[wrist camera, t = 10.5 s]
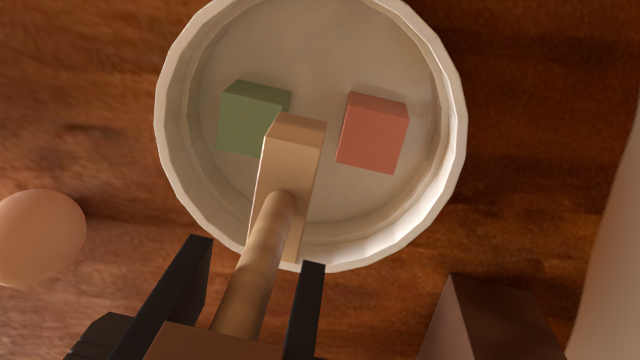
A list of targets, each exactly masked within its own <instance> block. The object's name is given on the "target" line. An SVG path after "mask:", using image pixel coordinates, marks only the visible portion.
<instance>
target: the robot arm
mask: <svg viewBox="0 0 640 360" xmlns="http://www.w3.org/2000/svg"><path fill="white" fill-rule="evenodd" d="M212 246H213V239H212V238H207V237H203V236H199V235H194V234H190V235H189V237H188V238H187V240H186V241H185V243H184V244H183V246H182V247H181V249H180V250H179V252H178V253H177V255H176V256H175V258H174V259H173V261H172V262H171V264H170V265H169V267H168V268H167V270H166V271H165V273H164V274H163V276H162V277H161V279H160V280H159V282H158V283H157V285H156V286H155V288H154V289H153V291H152V292H151V294H150V295H149V297H148V298H147V300H146V301H145V303H144V304H143V306H142V307H141V309H140V310H139V312H138V313H137V315H136V316H135V317H130V316H126V315H121V314H117V313H113V312H108V313H107V314H105V315H103V316H102V317H100V318H99V319H97V320H96V321H94V322H92V323H91V324H90V326H89V327H88V328H87V330H86V331H85V332H84V333H83V335H82V336H81V337H80V340H79V341H77V342H76V344H75V345H74V346H73V348H72V349H71V351H70V353H68V354H67V355H66V356H65V358H64V359H63V360H143V358H144V356H145V354H146V353H147V351H148V349H149V347H150V346H151V344H152V342H153V340H154V339H155V337H156V335H157V334H158V332H159V330H160V328H161V327H162V325H163V323H164V322H165V321H170V322H174V323H179V324H183V325H187V326H192V327H194V325H195V323H196V321H197V319H198V317H199V315H200V313H201V311H202V309H203V307H204V304H205V297H206V290H207V282H208V275H209V268H210V260H211V253H212ZM325 268H326V264H322V263H317V262H313V261H309V260H304V259H303V262H302V267H301V271H300V275H299V280H298V284H297V288H296V292H295V297H294V301H293V305H292V310H291V314H290V318H289V322H288V327H287V332H286V336H285V341H284V345H283V348H284V350H285V352H284V356H283V360H326V359H321V358H317V357H314V352H315V344H316V337H317V329H318V321H319V314H320V306H321V299H322V291H323V283H324V276H325Z"/></svg>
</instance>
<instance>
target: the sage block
mask: <svg viewBox="0 0 640 360" xmlns="http://www.w3.org/2000/svg"><path fill="white" fill-rule="evenodd" d="M291 95H292V92H291V91H287V90H283V89H279V88H274V87H270V86H266V85H261V84H257V83H253V82H248V81H244V80H240V79H237V80H236V81H235V82H233V83H232V84H231V85H230V86H229V87H227V88H226V89H225V90H224V91H222V96H221V104H220V112H219V120H218V128H217V136H216V143H215V149H217V150H222V151H226V152H230V153H235V154H239V155H243V156H248V157H252V158H256V159H261V153H262V147H263V141H264V136H265V135H266V133H267V131H268V130H269V128H270V126H271V125H272V123H273V122H274V120H275V118H276V117H277V115H278V113H279V112H280V111H281V112H285V113H288V111H289V106H290V100H291Z"/></svg>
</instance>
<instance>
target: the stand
mask: <svg viewBox="0 0 640 360" xmlns="http://www.w3.org/2000/svg"><path fill="white" fill-rule="evenodd" d="M416 360H567V358H566V356H565V354H564V353H563V351H562V349H561V347H560V345H559V343H558V341H557V339H556V337H555V335H554V333H553V332H552V330H551V328H550V326H549V324H548V322H547V320H546V318H545V316H544V314H543V313H542V311H541V309H540V307H539V305H538V303H537V301H536V299H535V297H534V295H533V293H532V292H531V291H527V290H522V289H518V288H514V287H509V286H505V285H501V284H496V283H492V282H487V281H483V280H479V279H474V278H470V277H466V276H461V275H457V274H453V273H450V274H449V276H448V279H447V281H446V284H445V286H444V289H443V291H442V294H441V296H440V299H439V302H438V304H437V307H436V309H435V312H434V314H433V317H432V319H431V322H430V325H429V327H428V330H427V332H426V335H425V337H424V340H423V343H422V345H421V348H420V350H419V353H418V355H417V358H416Z"/></svg>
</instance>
